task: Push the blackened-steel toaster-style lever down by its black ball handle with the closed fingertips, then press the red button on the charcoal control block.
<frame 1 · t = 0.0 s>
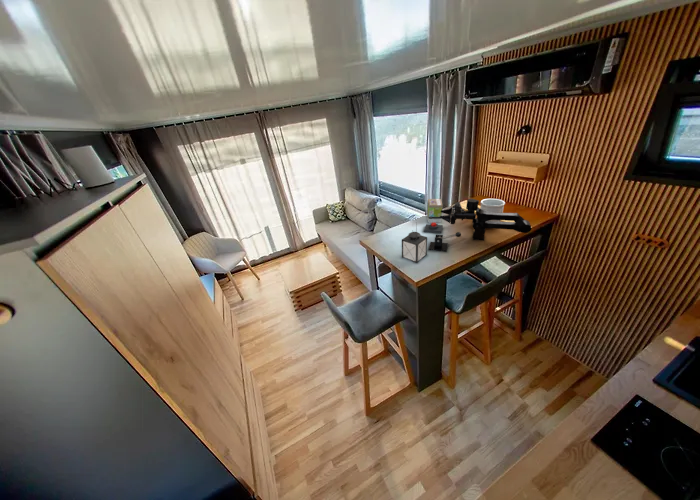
hand: (440, 214, 170), 17 cm above the table, tool horizontal, fingers open, 9 cm apart
bracket: (438, 247, 165), on the table
button block: (433, 230, 186), on the table
lantern: (414, 256, 159), on the table
lever: (448, 236, 158), point 9 cm above the table, hinge at 20.0°
tea box: (433, 219, 203), on the table
utensil holder: (488, 224, 184), on the table
button: (433, 224, 184), point 5 cm above the table, slide at 0.1 cm
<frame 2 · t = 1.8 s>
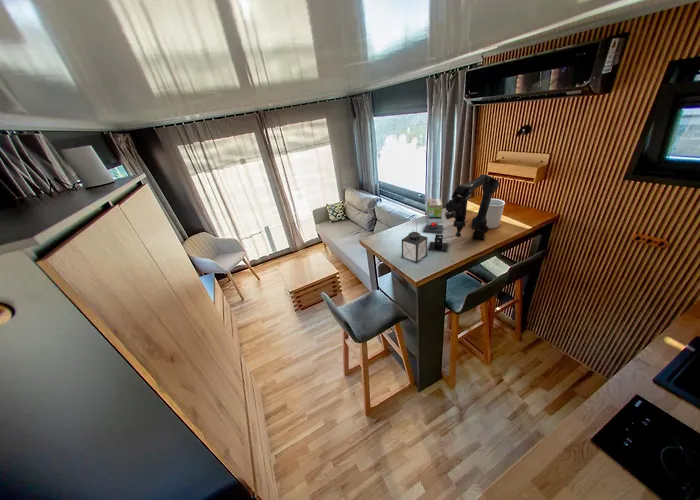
hand: (458, 231, 154), 13 cm above the table, tool pointing down, fingers open, 5 cm apart
nothing on the table moved.
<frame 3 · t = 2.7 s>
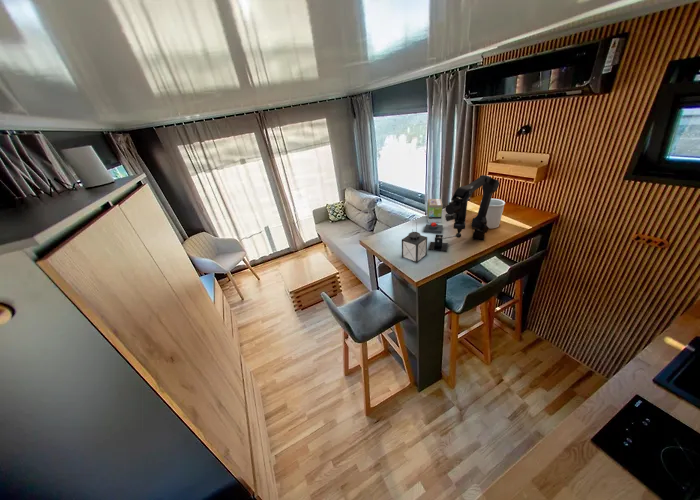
hand: (458, 233, 155), 12 cm above the table, tool pointing down, fingers closed
lever: (448, 237, 158), point 8 cm above the table, hinge at 17.5°, touching gripper
everything else where it was.
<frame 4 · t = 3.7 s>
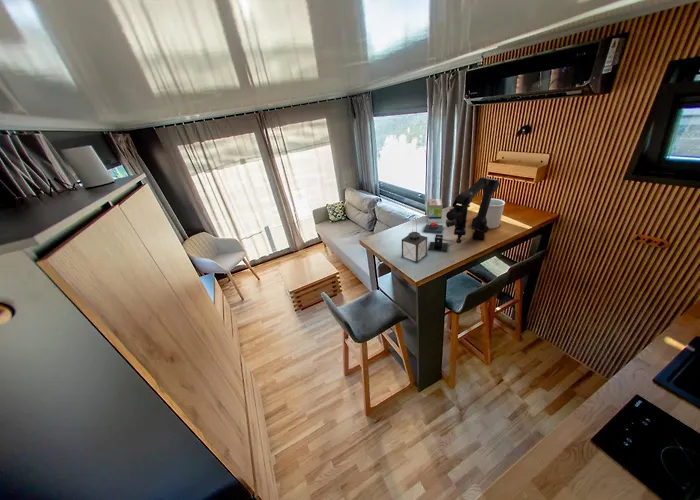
hand: (459, 238, 156), 8 cm above the table, tool pointing down, fingers closed
lever: (448, 239, 159), point 6 cm above the table, hinge at -1.5°, touching gripper
everything else where it was.
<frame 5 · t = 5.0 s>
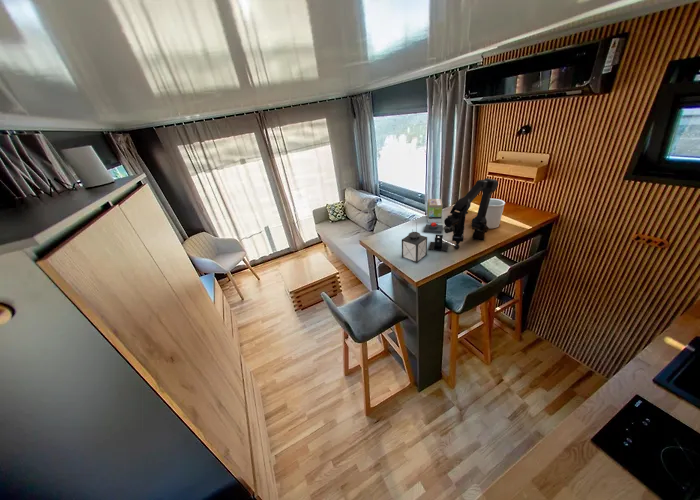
hand: (457, 244, 159), 4 cm above the table, tool pointing down, fingers closed, pressing on lever
lever: (447, 242, 160), point 4 cm above the table, hinge at -22.2°, touching gripper
everything else where it was.
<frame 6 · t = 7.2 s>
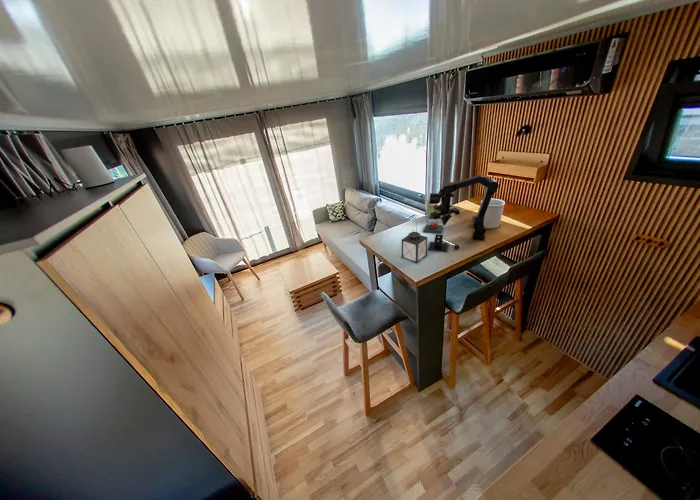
hand: (444, 225, 169), 10 cm above the table, tool pointing down, fingers closed
lever: (447, 242, 160), point 4 cm above the table, hinge at -22.3°
everything else where it was.
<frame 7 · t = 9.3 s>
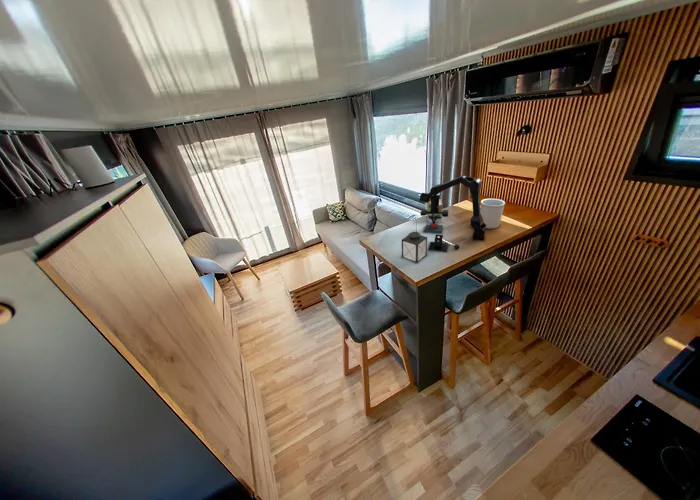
hand: (433, 223, 184), 5 cm above the table, tool pointing down, fingers closed, pressing on button
button: (433, 224, 184), point 4 cm above the table, slide at 0.0 cm, touching gripper
everything else where it was.
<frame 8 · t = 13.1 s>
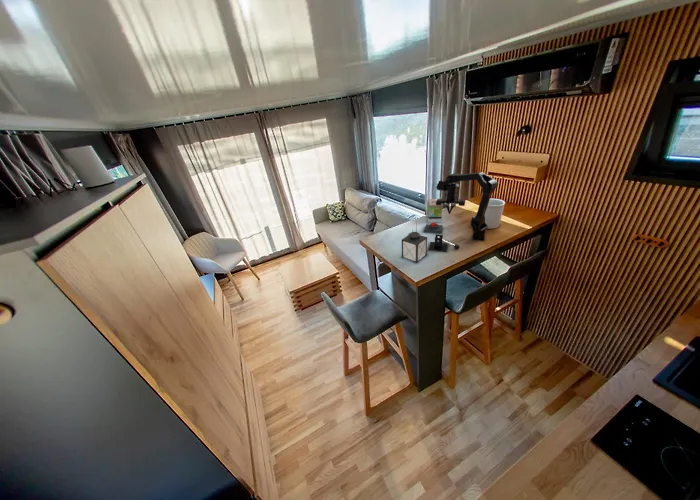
hand: (449, 213, 180), 12 cm above the table, tool pointing down, fingers closed
button: (433, 224, 184), point 5 cm above the table, slide at 0.1 cm
everything else where it was.
at the end: lever at -22° (first picture: +20°); button pushed in 1.1 cm at the most during the clip, back to where it started at the end; button slide at 0.1 cm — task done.
